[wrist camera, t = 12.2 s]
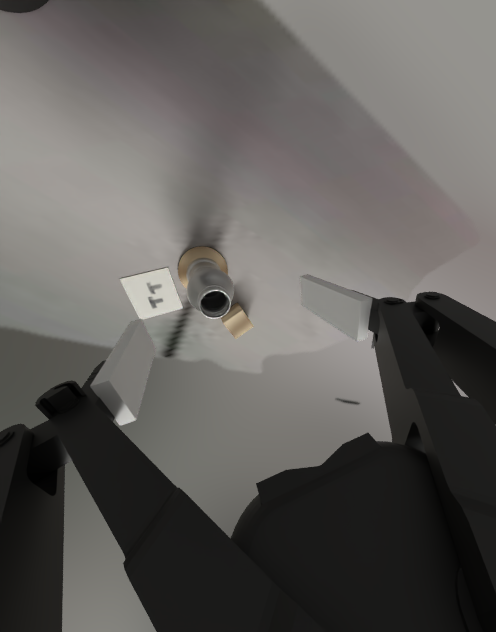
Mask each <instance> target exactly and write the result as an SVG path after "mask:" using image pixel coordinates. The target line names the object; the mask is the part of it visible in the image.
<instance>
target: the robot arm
mask: <svg viewBox="0 0 496 632" xmlns="http://www.w3.org/2000/svg"><path fill="white" fill-rule="evenodd" d="M47 2H48V0H0V10H3V11H7V12H14V13H23V12H30V11H33V10H36V9H38V8H40V7H41V6H43V5H44V4H45V3H47ZM300 287H301V305H302V306H303V307H305V308H306V309H308V310H309V311H311V312H312V313H314V314H315V315H317V316H318V317H320V318H321V319H323V320H325V321H326V322H328V323H329V324H331V325H332V326H334V327H335V328H337V329H338V330H340V331H341V332H343V333H344V334H346V335H347V336H349V337H350V338H352V339H353V340H355V341H356V342H358V341H361V340H364V339H367V337H368V330H370V331H372V332H374V335H373V341H372V348H374V346H375V351H376V356H377V362H378V367H379V371H380V377H381V382H382V387H383V393H384V397H385V403H386V408H387V413H388V419H389V424H390V428H391V433H392V442H383V441H382V442H380V441H375V440H374V439H373V437H372V436H371V435H370V434H369V433H366V434H364V435H362V436H360V437H358V438H355V439H353V440H351V441H349V442H346V443H345V444H343V445H342V446H341V447H340V448H339V449H337V451H335V452H334V454H332V455H331V456H330V457H329V458H328V459H327V460H326V461H325V462H324V463H323V464H322V465H320V466H317V467H308V468H299V469H290V470H285V471H283V472H281V473H278V474H276V475H274V476H272V477H270V478H268V479H265V480H263V481H261V482H259V483H256V485H257V488H258V492H259V494H258V495H257V496H256V497H255V498H254V499H253V500H252V502H251V503H250V504H249V505H248V506H247V507H246V509H245V511H244V512H243V513H242V515H241V517H240V519H239V520H238V523H237V524H236V526H235V529H234V531H233V534H232V536H231V539H230V538H229V537H228V536H227V535H226V534H225V533H224V532H223V531H222V530H221V529H220V528H219V527H218V526H217V525H216V524H215V523H214V522H213V521H212V520H211V519H210V518H209V517H208V516H207V515H206V514H205V513H204V512H203V511H202V510H201V509H200V507H199V506H197V504H196V503H195V502H194V501H193V500H191V498H190V497H189V496H188V495H187V494H186V493H185V492H183V491H182V490H181V489H180V488H177V487H176V486H175V485H174V484H173V483H172V482H171V481H170V480H169V479H168V478H167V477H166V476H165V475H164V474H163V473H162V472H161V471H160V470H159V469H158V468H157V467H156V466H155V465H154V464H153V463H152V462H151V461H150V460H149V459H148V458H147V457H146V456H145V454H144V453H143V452H142V451H140V450H139V448H138V447H137V446H136V445H135V444H134V443H133V442H132V441H131V440H130V439H129V438H128V437H127V436H126V435H125V434H124V433H123V432H122V431H121V430H120V429H119V428H118V427H117V426H116V425H115V424H114V423H113V420H114V418H115V420H116V421H117V422H118V423H119V425H120V426H121V425H124V424H126V423H129V422H132V421H135V420H136V419H137V416H138V412H139V409H140V405H141V401H142V397H143V394H144V390H145V387H146V383H147V379H148V376H149V372H150V369H151V365H152V361H153V358H154V354H155V350H156V347H155V345H154V343H153V341H152V339H151V337H150V335H149V333H148V331H147V329H146V327H145V325H144V323H143V321H142V319H139V320H135V321H132V322H130V324H129V325H128V327H127V328H126V330H125V332H124V333H123V335H122V336H121V338H120V339H119V341H118V343H117V344H116V346H115V347H114V349H113V351H112V352H111V354H110V355H109V357H108V359H107V360H105V361H102V362H101V363H100V364H99V365H98V366H97V367H96V368H95V369H94V370H93V372H92V373H91V375H90V376H89V378H88V379H87V380H88V381H86V382H85V384H84V385H83V387H82V388H80V387H79V385H78V384H77V383H76V382H75V381H67V382H64V383H61V384H59V385H57V386H55V387H53V388H51V389H50V390H49V391H47V392H46V393H44V394H43V395H42V396H41V397H39V399H38V400H37V402H36V407H37V408H38V409H39V410H40V411H41V412H42V413H43V414H44V415H45V416H46V417H47V418H48V419H49V420H48V421H46V422H44V423H42V424H40V425H38V426H36V427H34V428H32V429H28V428H27V427H26V426H25V425H24V424H17V425H13V426H11V427H9V428H7V429H5V430H3V431H1V432H0V632H62V596H63V593H62V591H63V541H64V537H63V536H64V484H65V482H64V481H65V464H67V463H68V462H70V461H71V460H72V461H73V463H74V465H75V467H76V468H77V470H78V472H79V474H80V476H81V477H82V479H83V481H84V483H85V485H86V486H87V488H88V490H89V492H90V494H91V495H92V497H93V499H94V501H95V502H96V504H97V506H98V508H99V510H100V512H101V513H102V515H103V517H104V519H105V521H106V522H107V524H108V526H109V528H110V530H111V531H112V533H113V535H114V537H115V539H116V540H117V542H118V544H119V546H120V547H121V549H122V551H123V553H124V555H125V561H124V563H123V564H124V568H125V571H126V573H127V576H128V578H129V580H130V582H131V584H132V586H133V588H134V590H135V591H136V593H137V595H138V597H139V599H140V601H141V603H142V605H143V607H144V608H145V610H146V612H147V614H148V616H149V617H150V620H151V622H152V624H153V626H154V627H155V629H156V631H157V632H496V322H495V321H493V320H491V319H489V318H488V317H486V316H484V315H482V314H480V313H478V312H476V311H474V310H472V309H471V308H469V307H467V306H465V305H463V304H461V303H459V302H457V301H456V300H454V299H452V298H450V297H448V296H446V295H444V294H440V293H437V292H424V293H419V294H417V297H416V301H415V302H408V303H406V302H405V301H404V300H402V299H399V298H393V297H387V298H381V299H376V298H373V297H370V296H368V295H364V294H362V293H359V292H356V291H354V290H349V289H346V288H344V287H341V286H338V285H336V284H333V283H330V282H327V281H325V280H322V279H319V278H316V277H314V276H311V275H308V274H307V275H303V276H300ZM439 327H440V328H439ZM438 329H439V330H438ZM451 379H452V380H451ZM452 381H454V383H456V385H457V386H459V388H460V389H461V390H462V391H463V392H464V393H465V394H466V395H467V396H468V397H469V398H468V397H462V396H461V395H460V394H459V392H458V390H457V388H456V387H455V385H454V383H453V382H452Z"/></svg>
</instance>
